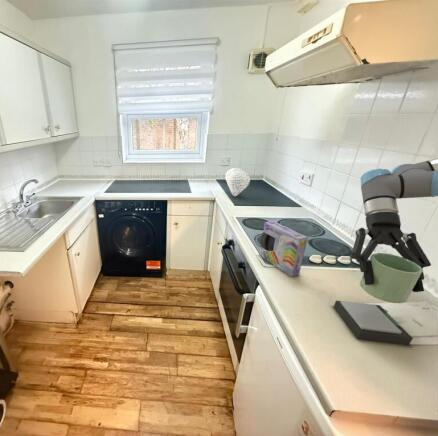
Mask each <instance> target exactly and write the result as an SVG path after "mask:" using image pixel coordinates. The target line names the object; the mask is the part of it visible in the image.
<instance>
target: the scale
mask: <svg viewBox="0 0 438 436" xmlns="http://www.w3.org/2000/svg"><path fill="white" fill-rule="evenodd" d="M333 309H334V310H335V312H336V313H337V314H338V316H339V317H340V318H341V319H342V321H343V322H344V324H345V325H346V326H347V327H348V329H349V331H351V333H352V334H353V335H354V337H355V338H356V339H357V340H362V341H369V342H376V343H377V342H378V343H384V344H393V345H401V346H408V347H409V346H410V344H411V342H412V341H413V339H414V337H412V336H411V335H410V333H408V332H407V331H406V329H404V328H403V327H402V326H401V325H400V323H398V321H396V320H395V318H393V316H391V314H389V313H388V312H387V311H386V309H384V308H383V307H382V306H381V305H380V304H375V303H374V304H372V303H365V302H354V301H345V300H335V302H334V305H333Z"/></svg>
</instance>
